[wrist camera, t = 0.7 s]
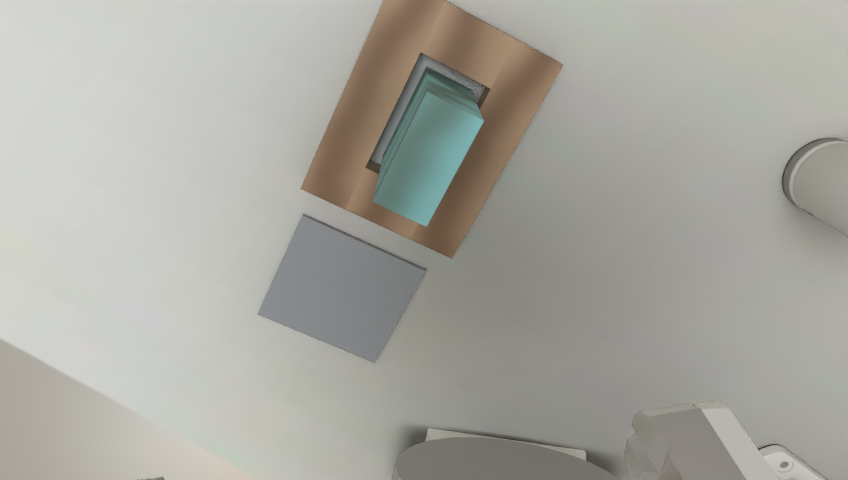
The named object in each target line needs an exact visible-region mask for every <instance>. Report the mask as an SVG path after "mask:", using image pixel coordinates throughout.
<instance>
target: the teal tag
mask: <svg viewBox="0 0 848 480" xmlns="http://www.w3.org/2000/svg"><path fill="white" fill-rule="evenodd" d="M483 122H484V119H483V117H482V115H481V112H480V110H479V108H478V105H477V103H476V101H475V98H474V96H473V94H472V91H471V89H469V88H467V87H465V86H463V85H461V84H459V83H457V82H455V81H454V80H452V79H450V78H448V77H446V76H444V75H442V74H440V73H438V72H436V71H434V70H432V69H430V68H428V67H427V66H426V68H425V71H424V73H423V75H422V77H421V79H420V81H419V83H418V85H417V87H416V89H415V91H414V93H413V95H412V97H411V99H410V101H409V103H408V105H407V107H406V109H405V111H404V114H403V116H402V118H401V120H400V122H399V124H398V126H397V128H396V130H395V132H394V134H393V136H392V138H391V140H390V142H389V144H388V146H387V148H386V150H385V152H384V155H383V159H382V163H381V168H380V172H379V176H378V180H377V185H376V189H375V193H374V197H373V202H374V203H377V204H379V205H381V206H383V207H385V208H387V209H389V210H392V211H394V212H396V213H398V214H400V215H402V216H404V217H407V218H409V219H411V220H413V221H415V222H417V223H419V224H422V225H424V226H426V227H427V225H428V223H429V221H430V220H431V218H432V216H433V214H434V212H435V210H436V209H437V207H438V205H439V203H440V201H441V199H442V198H443V196H444V194H445V192H446V190H447V188H448V186H449V185H450V183H451V181H452V179H453V177H454V175H455V174H456V172H457V170H458V168H459V166H460V164H461V162H462V161H463V159H464V157H465V155H466V153H467V151H468V150H469V148H470V146H471V144H472V142H473V140H474V139H475V137H476V135H477V133H478V131H479V129H480V127H481V126H482V124H483Z"/></svg>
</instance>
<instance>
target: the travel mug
mask: <svg viewBox="0 0 848 480" xmlns="http://www.w3.org/2000/svg"><path fill="white" fill-rule="evenodd" d="M783 187H784V191H785V194H786V196H787V197H788V199H789V200H790V201H791V202H792V203H793V204H795V205H796V206H798V207H800V208H801V209H803V210H805V211H806V212H808V213H810V214H811V215H813V216H815V217H816V218H818V219H820V220H821V221H823V222H824V223H826V224H828V225H829V226H831V227H833V228H834V229H836V230H838V231H839V232H841V233H843V234H844V235H846V236H848V142H846V141H843V140H840V139H835V138H826V139H820V140H817V141H814V142H812V143H810V144H808V145H806V146H805V147H803V148H802V149H801V150H799V151H798V152H797V153H796V154H795V155H794V156H793V158H792V159H791V160H790V162H789V163H788V165H787V167H786V170H785V173H784V177H783Z"/></svg>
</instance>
